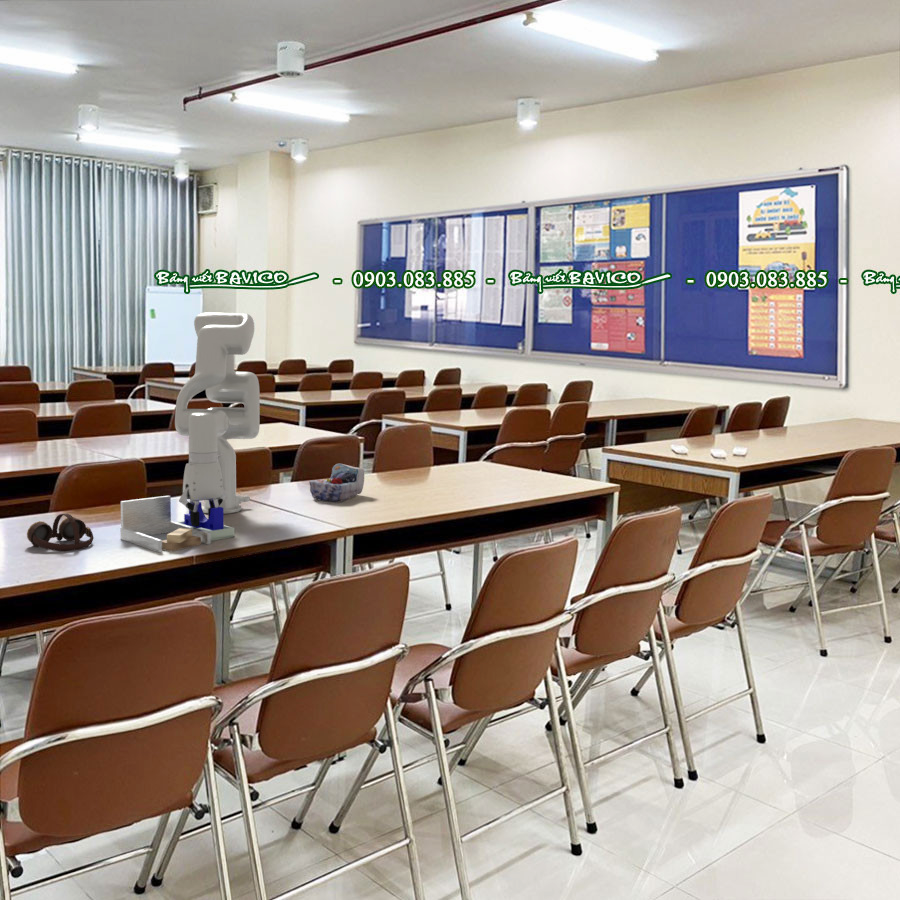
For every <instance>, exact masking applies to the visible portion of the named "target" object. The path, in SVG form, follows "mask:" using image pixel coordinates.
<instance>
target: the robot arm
mask: <svg viewBox="0 0 900 900" xmlns="http://www.w3.org/2000/svg"><path fill="white" fill-rule="evenodd" d="M254 321H255V320H254V318H253V317H252V316H251V314H248V313H245V312H244V313H242V312H241V313H240V312H202V313H200V314H199V313H198V314H197V315H196V316H195V318H194V322H193V323H194V324H193V325H194V331H195V334H196V336H197V342H196V354H195V366H194V367H195V370H194V375H193V376H191V377H190V379H189V380H187V382H185V384H183V386H182V388H181V389H180V391H179V392H178V395H177V398H176V403H175V414H174V427H175V430H176V432H177V434H179V435H180V436H184V437H188V463H186V464H185V467H184V471H183V472H184V473H183V481H182V494H181V496H180V497H179V499H178V502H179V503H181V504H182V505H184V506H185V507H186V509H188V512H189V511H190V521H191V524H192V525H193V526H199V525H200V521H199V512H197V510H198V505H199V502H201V501H204V504H201V506H202V510H203V513H204V514H207V515H208V517H207V519H208V518H209V516H210V512H211V508H216V507H223V515H226V514H228V515H229V514H234V513H235V514H236V513H238V512H239V513H240V511H242V506H241V505H240V504H242V503H249V502H250V501H251V497H250V496H249V495H240V494H237V464H236V462H237V455H236V454H237V453H236V451H235V449H234V447H233V446H232V445H231V444H230V443H229V440H253V439H256V438H257V436H259V433H260V419H261V418H260V414H261V413H260V410H261V409H260V407H261V405H260V394H261V393H260V383H259V378H258V376H257V375H256V374H255V373H254V372H250V371H235V355H236V356H237V355H238V356H239V355H241V356H243V355H247V353H248V352H249V350H250V348H251V345H252V341H253V338H254V335H255V322H254ZM203 391H205V395H206V399H208V401H210V402H212V403H217V404H219V403H220V404H243V405H244V407H228V406H227V407H225V406H223V407H222V406H221V407H220V406H219V407H217V406H215V407H214V406H213V407H210V408H188V404H189V402H190V400H192V398H193V397H195V396H196V395H197V394H199V393H201V392H203ZM188 500H189V501H188Z"/></svg>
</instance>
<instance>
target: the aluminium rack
mask: <svg viewBox="0 0 900 900" xmlns="http://www.w3.org/2000/svg"><path fill="white" fill-rule="evenodd" d="M171 500H172V499H171V495H163V496H162V495H161V496H154V497H153V496H152V497H145V498H139V499H138V498H136V499H129V500H121V501H120V540H122V541H125V542H128V543H131V544H133V545H137V546H139V547H142V548H145V549H149V550H151V551H153V552H156V553H162V552H163V550H162V541H163V540H162V539H159V538H157V537H154V536H153V535H160V534H161V533H162V534H169V533H171V532H173V531H175V530H177V529H179V528H183V529H192V536H198V537H201V544H205V545H212V544H211V543H212V541H211V533H210V532H207V531H203V530H200V529H197V528H193V527H190V526H187V525H184V524H180V523H177V522H178V521H173V520H172V513H171V512H172V511H171V510H172V509H171V507H172V506H171Z"/></svg>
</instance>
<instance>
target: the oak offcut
mask: <svg viewBox="0 0 900 900" xmlns="http://www.w3.org/2000/svg"><path fill="white" fill-rule="evenodd" d="M190 537H192V529H183V528H179V529H177V530H175V531H173V532H171V533H170V532H168V533H166V540H167V542H170V543H181V542H183V541H185V540H187V539H188V538H190Z"/></svg>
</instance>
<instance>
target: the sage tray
mask: <svg viewBox="0 0 900 900" xmlns="http://www.w3.org/2000/svg"><path fill="white" fill-rule="evenodd" d="M176 522H177V523H180V524H184V520H182V521H181V520H180V521H176ZM184 525H185V524H184ZM187 526H188V525H187ZM190 527H191V526H190ZM193 528H195V527H193ZM197 529H200V530H203V531H207V532H210V533H211V542H213V541H218V540H224V539H230V538H231V539H232V538H235V527H232V526H228V525H225V524H224V529H220V530H213V531H212V530H209V529H205V528H197Z"/></svg>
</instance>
